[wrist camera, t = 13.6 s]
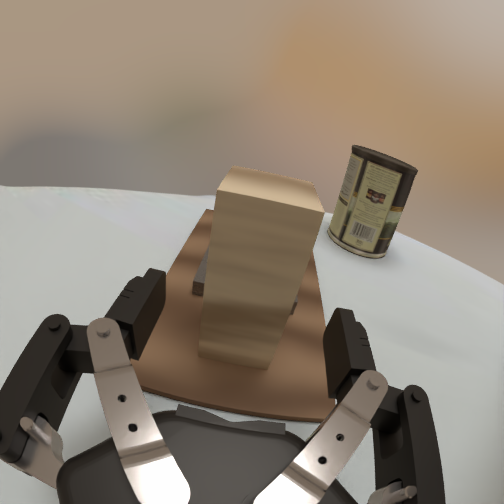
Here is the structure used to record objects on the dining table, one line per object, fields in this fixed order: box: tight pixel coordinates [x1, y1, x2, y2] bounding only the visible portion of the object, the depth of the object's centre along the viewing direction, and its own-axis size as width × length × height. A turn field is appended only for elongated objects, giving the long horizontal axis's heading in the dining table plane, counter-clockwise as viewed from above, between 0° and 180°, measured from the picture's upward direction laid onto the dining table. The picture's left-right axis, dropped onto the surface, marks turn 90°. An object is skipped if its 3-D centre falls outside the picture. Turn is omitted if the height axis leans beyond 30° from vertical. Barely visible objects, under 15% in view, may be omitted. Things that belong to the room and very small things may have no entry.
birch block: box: [198, 166, 325, 370], centre depth 18 cm, size 5×5×12 cm
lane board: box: [130, 209, 335, 422], centre depth 28 cm, size 28×15×2 cm, turn 175°
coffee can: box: [328, 145, 418, 258], centre depth 39 cm, size 10×10×14 cm
